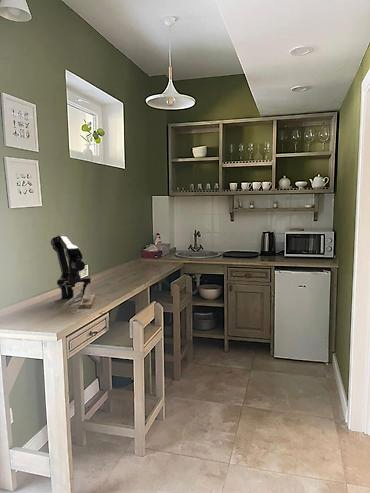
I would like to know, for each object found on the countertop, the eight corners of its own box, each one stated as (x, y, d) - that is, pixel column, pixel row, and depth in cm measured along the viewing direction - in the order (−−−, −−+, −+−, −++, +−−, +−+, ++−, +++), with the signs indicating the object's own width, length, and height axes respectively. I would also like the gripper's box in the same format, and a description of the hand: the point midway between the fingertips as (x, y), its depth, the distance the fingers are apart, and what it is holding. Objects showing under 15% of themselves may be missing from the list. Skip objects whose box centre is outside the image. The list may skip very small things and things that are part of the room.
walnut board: (78, 308, 208) (78, 304, 207) (84, 298, 231) (83, 294, 231) (91, 307, 209) (91, 303, 208) (95, 297, 232) (94, 294, 232)
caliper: (83, 298, 232) (82, 288, 232) (84, 298, 232) (84, 288, 232) (63, 307, 213) (62, 295, 212) (64, 307, 213) (64, 296, 212)
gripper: (54, 272, 213) (56, 299, 214) (88, 270, 215) (90, 297, 217) (58, 269, 224) (59, 295, 225) (90, 267, 226) (92, 293, 228)
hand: (75, 295), depth 223 cm, fingers open, 9 cm apart
